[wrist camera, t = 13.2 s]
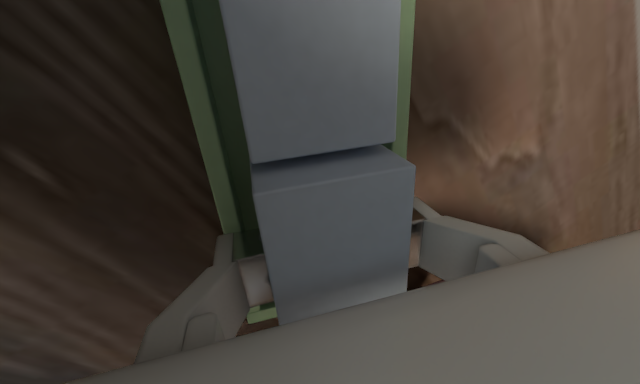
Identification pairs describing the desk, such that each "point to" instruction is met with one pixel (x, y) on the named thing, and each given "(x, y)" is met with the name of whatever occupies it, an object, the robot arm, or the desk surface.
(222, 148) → the green rectangular tray
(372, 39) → the seated pad
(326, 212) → the pad
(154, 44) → the desk surface
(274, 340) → the robot arm
